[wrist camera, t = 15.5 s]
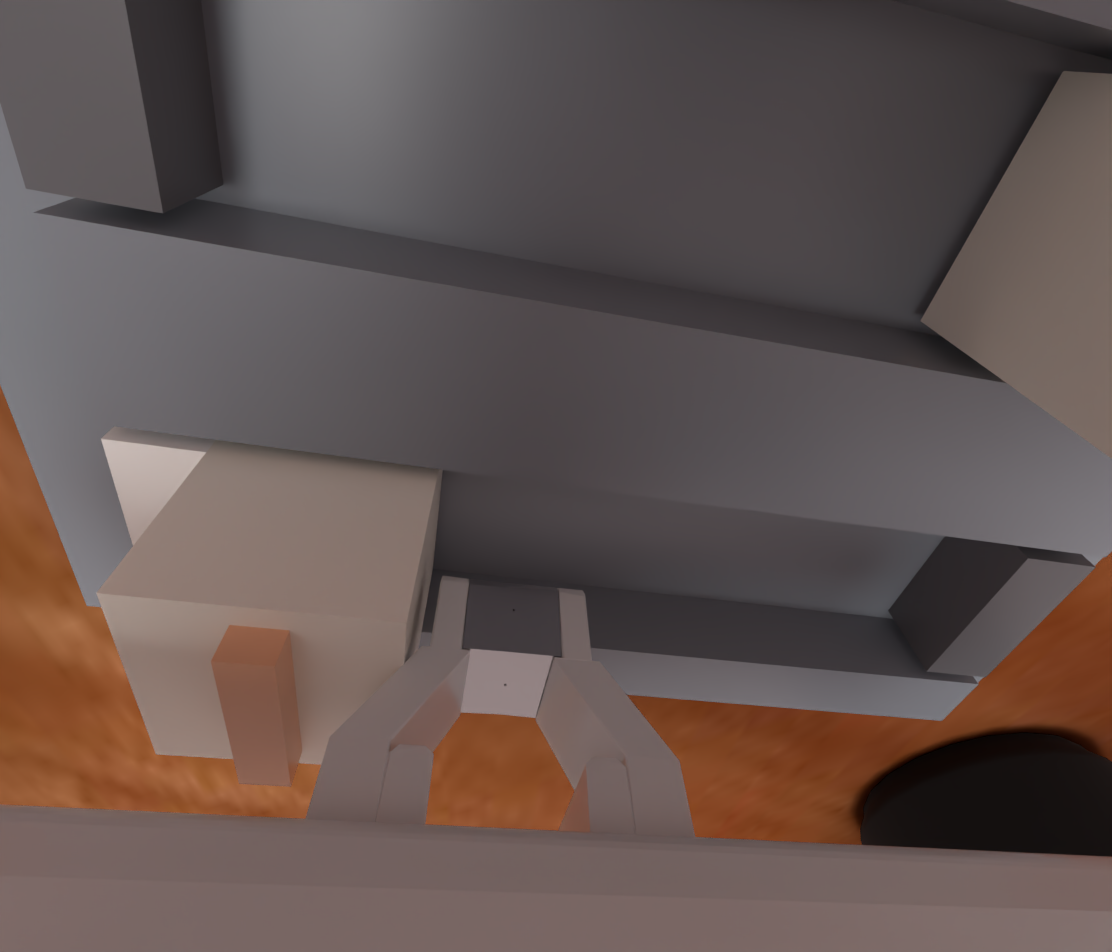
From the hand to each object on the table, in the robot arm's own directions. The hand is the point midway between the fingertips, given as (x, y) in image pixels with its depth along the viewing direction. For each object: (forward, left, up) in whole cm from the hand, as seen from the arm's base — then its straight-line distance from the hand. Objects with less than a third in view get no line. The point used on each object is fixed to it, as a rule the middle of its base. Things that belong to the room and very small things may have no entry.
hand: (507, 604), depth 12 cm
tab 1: (0, -4, -3) cm, 5 cm away
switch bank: (-4, +3, -5) cm, 7 cm away
